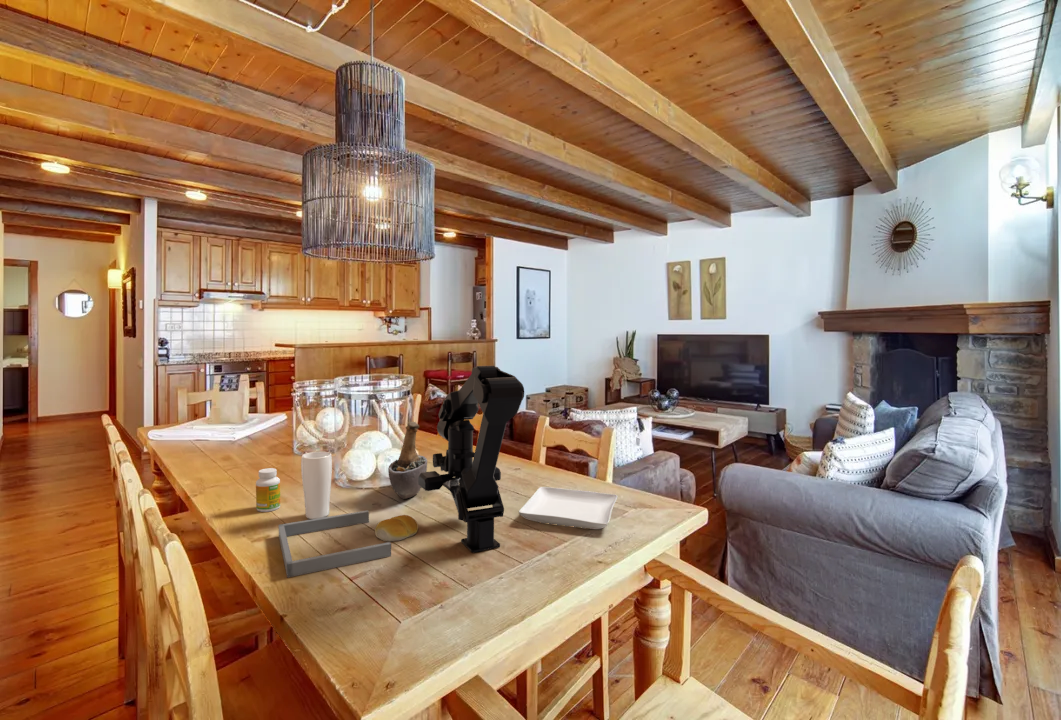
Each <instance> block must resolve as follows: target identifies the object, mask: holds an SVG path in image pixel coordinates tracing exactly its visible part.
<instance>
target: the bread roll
mask: <svg viewBox="0 0 1061 720" xmlns="http://www.w3.org/2000/svg"><path fill="white" fill-rule="evenodd" d="M418 525H419V524H418V523H417V521H416V520H415V519H414V518H413V517H412V516H409V515H407V514H401V515H396V516H392V517H390V518H387V519H383V520H381V521H379V522H378V523H377V525H376V527H375V528H374V529H375V530H374V534H375V536H376V538H377V539H379V540H381V541H384V542H390V543H391V542H398V541H403V540H405V539H407V538H410V537H413V536H415V535H416V534H417V532H418V529H419V526H418Z"/></svg>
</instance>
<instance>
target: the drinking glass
mask: <svg viewBox="0 0 1061 720" xmlns="http://www.w3.org/2000/svg"><path fill="white" fill-rule="evenodd" d="M332 459H333V458H332V453H331V452H328V451H311V452H307V453H303V454H302V455H301V459H300V461H301V463H300V464H301V465H300V466H301V480H302V491H303V499H304V508H305V511H304V512H305V514H304V515H305V518H307V519H308V520H311V519H317V518H324V517H329V515H330V503H331V501H330V500H331V489H332V476H333V473H332V472H333V460H332Z"/></svg>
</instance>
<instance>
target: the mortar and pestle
mask: <svg viewBox="0 0 1061 720" xmlns="http://www.w3.org/2000/svg"><path fill="white" fill-rule="evenodd" d="M419 428H420V424H419V423H417V422H416V421H408V422H407V425H406V427H405V430H406V431H405V435H404V437H403V438H404V439H403V443H402V447H401V451H400V454H399V457H398V459H395V460H394V461H393V462H391V463H390V464H389V465H388V470H387V472H388V478H389V484H390V486H391V488H392V490H393V492H395V493H396V494H397V496H399V498H401V499H403V500H407V499H410V498H412V497H414V496H416V495H417V494H418V493H420V491H421V488H422V487H421V486H420V485H419V484H418V477H419V475H420V474H421V473H423V472H428V471H427V469H428V459H427V457H425V456H423V455H419V454H418V453H417V450H416V441H417V440H416V438H417V437H416V436H417V432H418V429H419Z"/></svg>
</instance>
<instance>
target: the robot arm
mask: <svg viewBox="0 0 1061 720" xmlns="http://www.w3.org/2000/svg"><path fill="white" fill-rule="evenodd" d="M524 397H525V388H524V385H523V383H522V382H521V381H520V380H519V379H518V378H517V377H516V376H515V375H514V374H511V373H508V372H505V371H503V370H501V369H500V368H499V367H498V366H495V365H476V366H475V367H472V369H471V374H470V375H469V377H468V378H467V379H466V381H465V382H464V383H463V385H462V386H461V387H460V389H459V390H454V391H451V392H449V393H448V394H447V395H446V396H445V398H444V399H443V401H442V404H441V407H440V409H439V411H438V414H437V415H438V419H439V421H438V422H437V425H436V431H437V433H438V434H439V436H440V437H442V438H443V439H445V440H446V441H447V442H448V443H447V449H446V450H445V455H444V456H443V453H442V452H439V453H434V454H432V466H433V468H440V471H441V472H442V471H444V472H445V473H443V474H439V473H438V472H437V471H436V470H433V471H426V472H423V473H421V474H420V475H419V477H418V484H419V485H420V486H421V488H422V489H423V490H424V491H426V492H430V491H431V492H432V491H438V490H440V489H442V487H444V488H445V489H446V490H448V491H449V492H450V494H451V496H452V498H453V501H454V502H453V503H454V504H455V507H456V510H457V513H458V515H457V517H458V521H463V522H464V523H466V524H467V525H466V537H465V538H461V540H460V542H461V543H462V544H463V545H464V547H466V548H467V549H468V550H469V552H470V553H474V554H475V553H477V552H478V553H479V552H483V551H487V550H488V551H489V550H491V549H497V548H500V547H501V543H500V542H499V541H497V540H496V539H495V518H499V517H500V518H502V517H504V511H505V507H504V503H503V499H502V496H501V493H500V490H499V489H500V488H499V485H498V482H497V481H501V479H502V476H501V475H502V473H501V470H500V468H499V467H497V463H498V459H499V455H500V452H501V451H500V450H501V447H502V443H503V439H504V436H505V431H506V427H507V423H508V422H510V420H512V418H514V416H515V415H517V414H518V412H519V410H520V408H521V406H522V405H521V404H522V401H523V399H524ZM479 409H481V411H482V417H481V421H480V426H479V431H478V436H477V442H476V447H475V450H474V447H473V446H474V445H473V442H474V437H473V436H474V430H475V428H474V425H473V424H472V423H471V422H470V420H473V419H474V418H475V417H476V415H477V413H478V411H479ZM487 506H492V507H487ZM479 507H480V508H479ZM481 507H484V508H481ZM485 507H487V508H485ZM474 508H478V509H474ZM468 509H471V510H468Z"/></svg>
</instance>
